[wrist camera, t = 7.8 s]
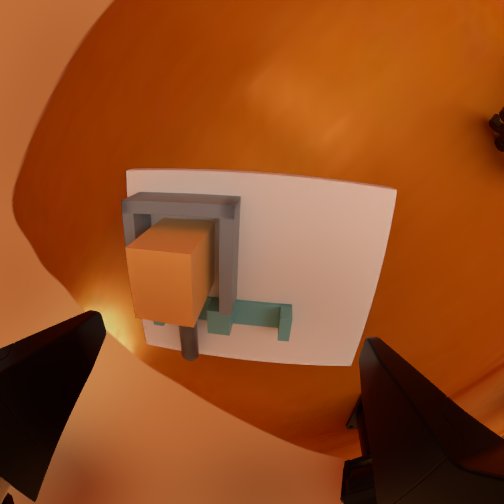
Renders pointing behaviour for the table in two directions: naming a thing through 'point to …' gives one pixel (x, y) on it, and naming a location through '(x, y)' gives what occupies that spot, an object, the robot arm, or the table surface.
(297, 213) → the board
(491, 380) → the table surface
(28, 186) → the table surface
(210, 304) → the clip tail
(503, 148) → the valve
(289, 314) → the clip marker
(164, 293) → the block
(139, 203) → the end holder
